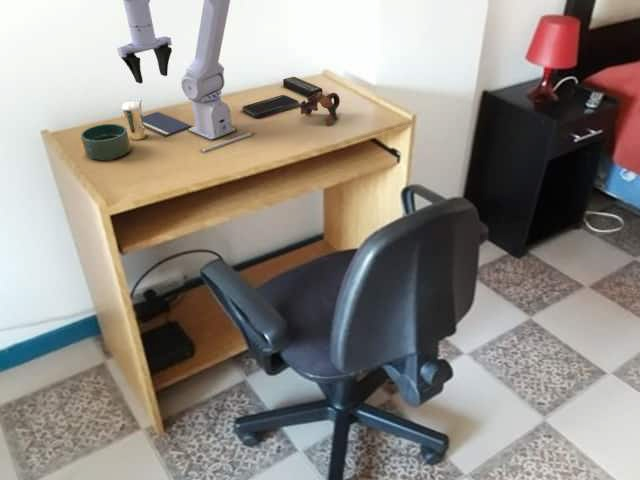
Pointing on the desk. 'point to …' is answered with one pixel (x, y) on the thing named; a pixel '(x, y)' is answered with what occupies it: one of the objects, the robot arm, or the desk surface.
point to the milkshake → (134, 119)
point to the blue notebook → (163, 124)
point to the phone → (270, 106)
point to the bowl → (106, 141)
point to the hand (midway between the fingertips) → (151, 78)
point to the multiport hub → (301, 86)
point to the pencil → (226, 142)
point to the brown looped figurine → (325, 102)
